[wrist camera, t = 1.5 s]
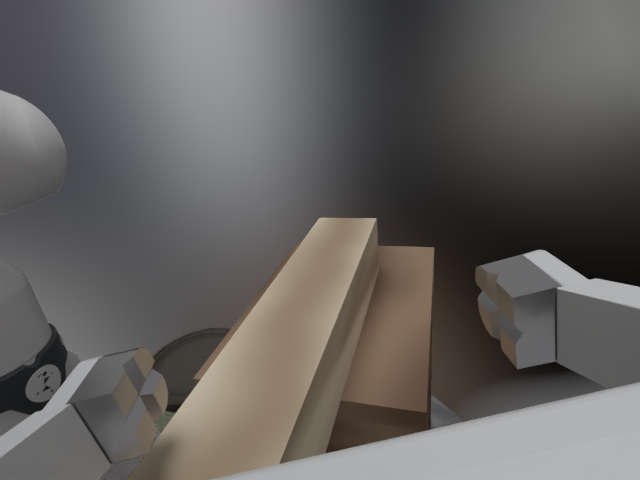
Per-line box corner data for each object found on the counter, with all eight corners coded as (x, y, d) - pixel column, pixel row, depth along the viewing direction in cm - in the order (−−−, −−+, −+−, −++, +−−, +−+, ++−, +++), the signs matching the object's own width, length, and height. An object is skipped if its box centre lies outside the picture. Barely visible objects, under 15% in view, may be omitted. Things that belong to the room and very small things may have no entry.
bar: (110, 663, 9) (52, 579, 8) (325, 267, 25) (319, 217, 24) (247, 721, 8) (210, 637, 7) (378, 270, 24) (376, 218, 23)
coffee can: (282, 421, 46) (263, 324, 41) (264, 512, 37) (236, 403, 31) (199, 422, 48) (169, 328, 42) (162, 510, 38) (117, 404, 33)
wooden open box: (278, 655, 28) (192, 378, 17) (328, 472, 40) (295, 243, 29) (422, 707, 25) (426, 412, 14) (429, 493, 37) (434, 247, 27)
